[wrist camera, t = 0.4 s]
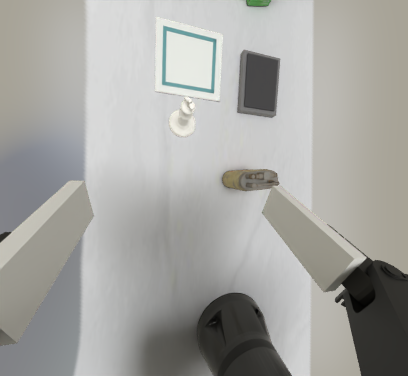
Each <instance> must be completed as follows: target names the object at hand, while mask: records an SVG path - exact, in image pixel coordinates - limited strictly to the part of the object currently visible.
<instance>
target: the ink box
mask: <svg viewBox="0 0 408 376" xmlns="http://www.w3.org/2000/svg"><path fill="white" fill-rule="evenodd" d="M270 1H271V0H247V4H248V6H268V5H269V3H270Z"/></svg>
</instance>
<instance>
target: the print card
mask: <svg viewBox="0 0 408 376" xmlns="http://www.w3.org/2000/svg"><path fill="white" fill-rule="evenodd" d="M222 41H223V34H220V33H216V32H212V31H209V30H205V29H201V28H197V27H193V26H190V25H186V24H182V23H178V22H174V21H171V20H167V19H163V18H159V17H156V46H155V92H160V93H166V94H173V95H179V96H188V97H192V98H198V99H205V100H211V101H218V102H219V101H220V83H221V62H222Z"/></svg>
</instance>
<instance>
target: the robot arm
mask: <svg viewBox="0 0 408 376" xmlns="http://www.w3.org/2000/svg"><path fill="white" fill-rule="evenodd" d="M262 214H263V215H264V216H265V217H266V219H267V220H268V221H269V223H270V224H271V225H272V226H273V228H274V229H275V230H276V232H277V233H278V234H279V235H280V237H281V238H282V239H283V241H284V242H285V243H286V245H287V246H288V247H289V248H290V250H291V251H292V252H293V254H294V255H295V256H296V257H297V259H298V260H299V261H300V263H301V264H302V265H303V266H304V268H305V269H306V270H307V272H308V273H309V274H310V275H311V277H312V278H313V279H314V281H315V282H316V283H317V284H318V286H319V287H320V288H321V290H322V291H323V292H328V291H334V290H336V289H337V288H338V287H339V286H340V285H341V284H342V285H343V286H344V287H345V288H346V289H345V290H343V292H341V293H340V294H339V295H338V296H337V297H336V298H335V302H336V303H338V302H339V301H340V300H341V299H344V301H343V302H342V303H341V305H342V306H344V307H346V310H347V314H348V318H349V323H350V328H351V332H352V336H353V341H354V345H355V349H356V354H357V358H358V362H359V367H360V371H361V376H408V275H407V274H404V273H402V272H401V271H400V270H398V269H397V268H395V267H394V266H392V265H390V264H388V263H386V262H383V261H379V260H375V261H372V260H371V259H370V258H368V257H367V256H366V255H365V254H364V253H362V252H361V251H360V250H359V249H357V248H356V247H355V246H354V245H353V244H351V243H350V242H349V241H348V240H346V239H344V237H343V236H342V235H340V234H339V233H338V232H337V231H336V230H334V229H333V228H332V227H331V226H329V225H328V224H326V223H325V222H324V221H322V220H321V219H320V218H319V217H317V216H316V215H315V214H314V213H313V212H312V211H310V210H309V209H308V208H307V207H306V206H304V205H303V204H302V203H301V202H300V201H298V200H297V199H296V198H295V197H294V196H292V195H291V194H290V193H289V192H288V191H286V190H285V189H284V188H283V187H282V186H272V188H271V191H270V193H269V196H268V199H267V201H266V204H265V206H264V209H263V211H262ZM93 217H94V215H93V211H92V207H91V203H90V200H89V196H88V192H87V189H86V185H85V181H69V182H68V183H67V184H65V185H64V186H63V187H62V188H61V189H60V190H59V191H58V192H57V193H55V194H54V195H53V196H52V197H51V198H50V199H49V200H48V201H46V202H45V203H44V204H43V205H42V206H41V207H40V208H39V209H37V210H36V211H35V212H34V213H33V214H32V215H31V216H30V217H29V218H28V219H26V220H25V221H24V222H23V223H22V224H21V225H20V226H18V227H17V229H15V230H14V231H13V232H5V233H3V234H1V235H0V346H2V345H9V344H15V343H18V341H19V339H20V338H21V336H22V334H23V333H24V331H25V329H26V328H27V326H28V324H29V323H30V321H31V320H32V318H33V316H34V315H35V313H36V311H37V310H38V308H39V306H40V305H41V303H42V301H43V299H44V298H45V296H46V294H47V293H48V291H49V290H50V288H51V286H52V285H53V283H54V281H55V280H56V278H57V276H58V275H59V273H60V271H61V270H62V268H63V266H64V265H65V263H66V261H67V260H68V258H69V256H70V255H71V253H72V251H73V250H74V248H75V247H76V245H77V243H78V242H79V240H80V238H81V237H82V235H83V233H84V232H85V230H86V228H87V227H88V225H89V223H90V222H91V220H92V218H93ZM197 337H198V342H199V347H200V350H201V353H202V355H203V357H204V359H205V361H206V363H207V364H208V366H209V368H210V370H211V372H212V374H213V375H214V376H292V375H291V373H290V372H289V370H288V369H287V367H286V365H285V364H284V362H283V361H282V359H281V358H280V356H279V354H278V353H277V351H276V350H275V348H274V346H273V345H272V342H271V339H270V336H269V333H268V329H267V326H266V323H265V320H264V317H263V314H262V312H261V310H260V309H259V307H258V306H257V304H256V303H255V302H254V300H253V299H252V298H250V297H249V296H247V295H244V294H240V293H232V294H227V295H224V296H222V297H220V298H218V299H216V300H215V301H214V302H212V303H211V304H210V305H209V306H208V307H207V308H206V310H205V311H204V312H203V314H202V316H201V318H200V320H199V323H198V328H197Z"/></svg>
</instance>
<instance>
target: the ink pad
mask: <svg viewBox="0 0 408 376" xmlns="http://www.w3.org/2000/svg"><path fill="white" fill-rule="evenodd" d="M279 68H280V59H279V58H275V57H271V56H267V55H263V54H259V53H255V52H251V51H247V50H243V52H242V53H241V61H240V79H239V96H238V113H245V114H252V115H259V116H266V117H274V116H276V107H277V94H278V81H279Z"/></svg>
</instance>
